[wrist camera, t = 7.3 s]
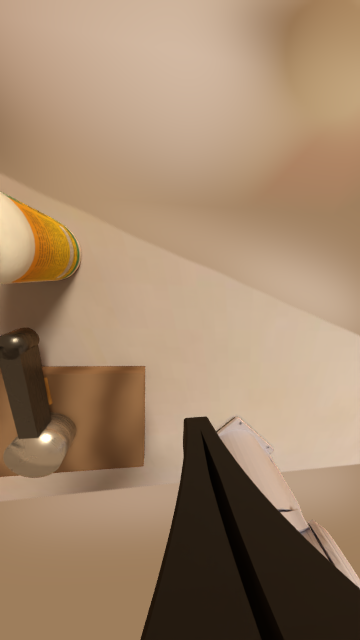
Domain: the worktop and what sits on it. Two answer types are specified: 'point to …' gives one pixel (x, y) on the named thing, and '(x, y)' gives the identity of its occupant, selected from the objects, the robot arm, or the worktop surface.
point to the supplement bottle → (34, 245)
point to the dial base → (91, 415)
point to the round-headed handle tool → (31, 409)
